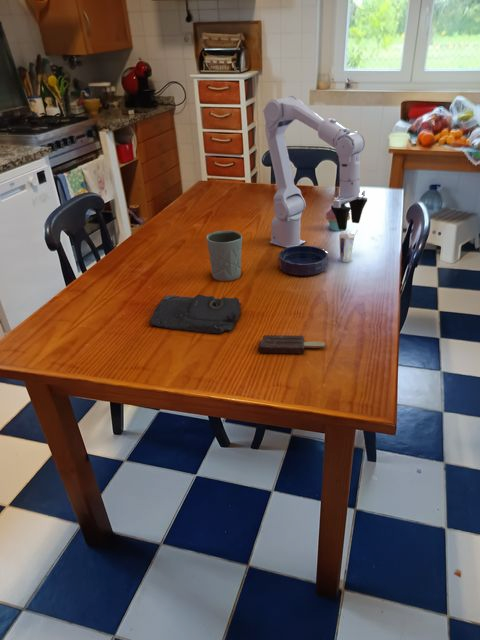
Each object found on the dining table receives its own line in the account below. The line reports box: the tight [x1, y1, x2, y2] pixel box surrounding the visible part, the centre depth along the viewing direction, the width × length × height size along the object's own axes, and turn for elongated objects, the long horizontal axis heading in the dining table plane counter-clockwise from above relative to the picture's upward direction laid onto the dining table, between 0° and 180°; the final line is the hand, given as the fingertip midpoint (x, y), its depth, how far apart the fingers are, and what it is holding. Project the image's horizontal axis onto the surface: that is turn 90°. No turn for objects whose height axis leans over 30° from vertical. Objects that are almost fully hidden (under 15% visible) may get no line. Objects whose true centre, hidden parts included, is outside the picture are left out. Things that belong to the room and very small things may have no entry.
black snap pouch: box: [149, 294, 242, 335], centre depth 123 cm, size 15×22×5 cm
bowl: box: [278, 245, 329, 277], centre depth 147 cm, size 15×15×4 cm
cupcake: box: [325, 195, 351, 231], centre depth 172 cm, size 9×8×12 cm
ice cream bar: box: [258, 334, 326, 355], centre depth 110 cm, size 5×2×15 cm
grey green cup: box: [205, 230, 243, 282], centre depth 141 cm, size 10×10×12 cm
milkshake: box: [339, 229, 358, 263], centre depth 148 cm, size 5×5×10 cm
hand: (349, 226), depth 145 cm, fingers open, 7 cm apart
